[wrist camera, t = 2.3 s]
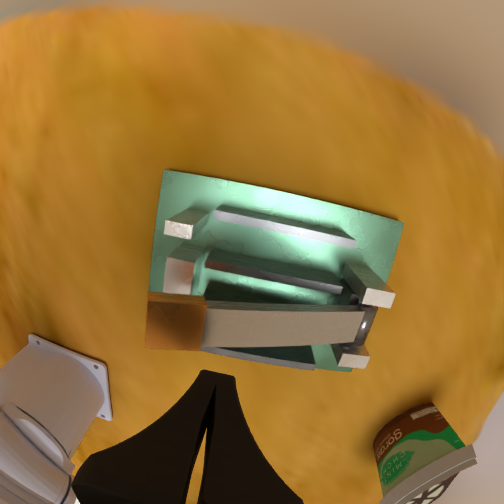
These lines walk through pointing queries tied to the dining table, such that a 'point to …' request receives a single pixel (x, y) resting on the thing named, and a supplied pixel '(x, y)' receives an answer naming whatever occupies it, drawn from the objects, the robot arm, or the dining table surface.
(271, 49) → the dining table surface
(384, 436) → the food container
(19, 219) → the dining table surface
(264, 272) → the green base metal fixture
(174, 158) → the dining table surface
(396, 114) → the dining table surface
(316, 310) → the grey and orange bar
